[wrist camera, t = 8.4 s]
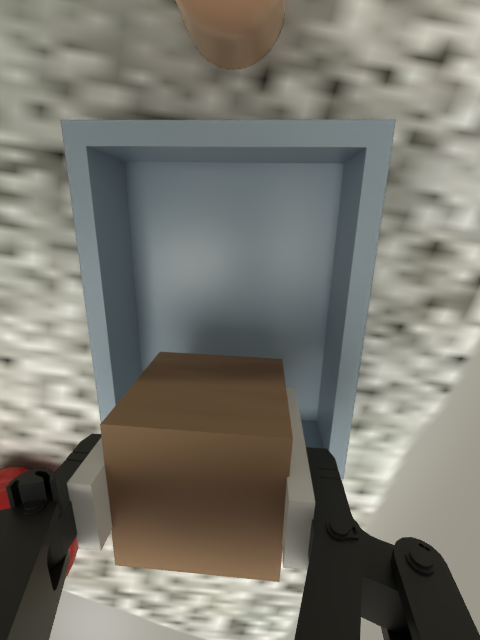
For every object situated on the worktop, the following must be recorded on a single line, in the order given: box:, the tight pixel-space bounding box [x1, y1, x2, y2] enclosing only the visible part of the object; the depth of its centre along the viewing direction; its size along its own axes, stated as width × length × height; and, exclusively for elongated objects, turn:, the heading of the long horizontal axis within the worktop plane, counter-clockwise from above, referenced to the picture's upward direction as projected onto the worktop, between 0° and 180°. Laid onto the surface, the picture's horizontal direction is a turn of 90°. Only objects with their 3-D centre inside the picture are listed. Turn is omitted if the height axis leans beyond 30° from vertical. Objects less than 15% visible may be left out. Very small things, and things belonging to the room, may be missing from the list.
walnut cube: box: [100, 352, 293, 582], centre depth 14 cm, size 6×6×6 cm
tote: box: [61, 119, 396, 479], centre depth 18 cm, size 18×14×5 cm
